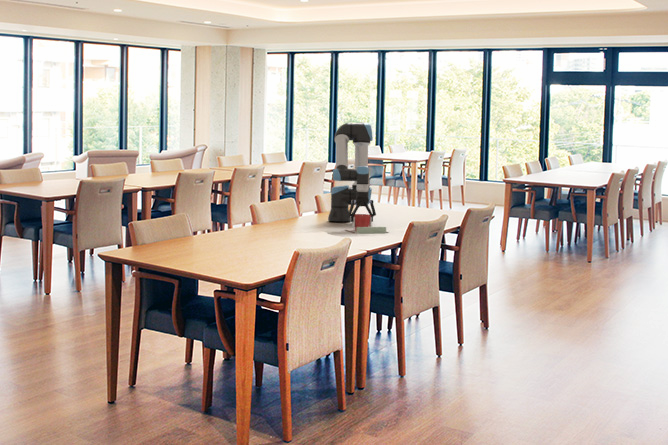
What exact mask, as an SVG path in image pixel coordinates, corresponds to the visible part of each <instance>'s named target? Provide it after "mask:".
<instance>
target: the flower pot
mask: <svg viewBox="0 0 668 445" xmlns="http://www.w3.org/2000/svg"><path fill="white" fill-rule="evenodd" d="M354 217H355V231H356V227H369V222H370V217H371V215H370V214H369V213H368V214H362V213H355V215H354Z"/></svg>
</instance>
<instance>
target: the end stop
mask: <svg viewBox="0 0 668 445" xmlns="http://www.w3.org/2000/svg"><path fill="white" fill-rule="evenodd" d="M355 231H356V232H355V234H387V233H386V232H387V226H372V227H356V230H355Z"/></svg>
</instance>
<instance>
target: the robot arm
mask: <svg viewBox="0 0 668 445" xmlns="http://www.w3.org/2000/svg"><path fill="white" fill-rule="evenodd" d="M372 128H373V127H372V125H371V123H369V122H346V123H344V124H341V125H340V126H339V127H338V128H337V130H336V131H335V133H334V143H335V168H333V169H332V181H335V182H353V183H352V184H351V187H350V186H349V185H348V184H346V185H338V186H337V185H336V186H333V187H331V191H330V196H331V197H330V198H331V199H330V210H329V213H328V216H327V220H328V221H330V222H351V223H352V226H351V227H352V228H355V217H354V215H355V214H357V212H358V210H359V208H360V207H365V209H366V211H367V212H368V215H371V216H370V222H369V227H373V226H372V225H373V223H374V217H375V216H377V213H376V210H375V205H374V199H371V197H372V189H373V187H371V185H370V183H369V182H370V181H369V180H370V178H369V177H370V167H369V162H368V161H369V146H370V144H371V142H373V129H372ZM350 141H352V144H353V146H354V168H348V167H349V162H348V161H349V160H348V159H349V153H348V152H349V148H348V144H349V142H350ZM369 205H370V207H369ZM349 206H350V207H349ZM354 207H355V208H354ZM372 222H373V223H372Z"/></svg>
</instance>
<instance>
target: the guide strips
mask: <svg viewBox="0 0 668 445" xmlns="http://www.w3.org/2000/svg"><path fill="white" fill-rule="evenodd" d="M344 231H346V232H348V233H352V234H356V232H354V231H351V230H348V229H344ZM387 233H390V231H386V233H385V234H387Z"/></svg>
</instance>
